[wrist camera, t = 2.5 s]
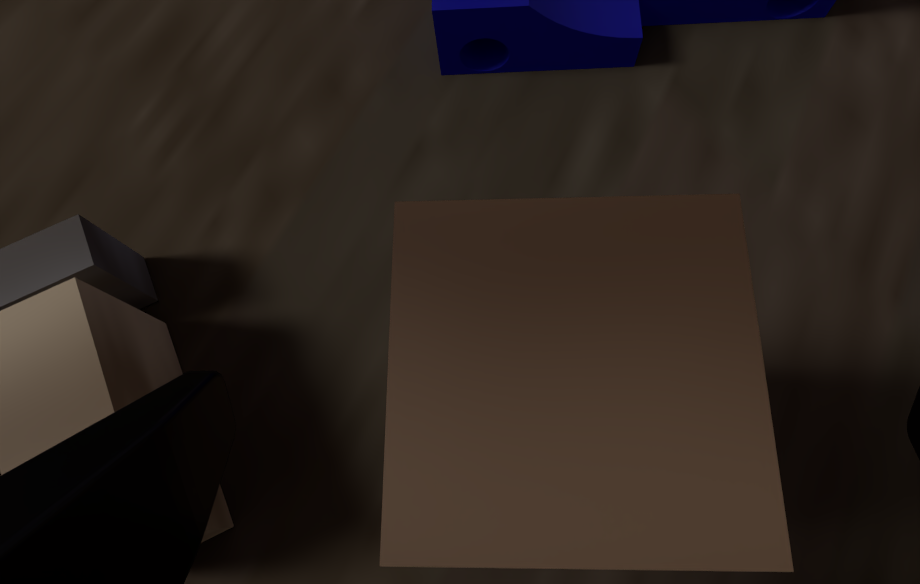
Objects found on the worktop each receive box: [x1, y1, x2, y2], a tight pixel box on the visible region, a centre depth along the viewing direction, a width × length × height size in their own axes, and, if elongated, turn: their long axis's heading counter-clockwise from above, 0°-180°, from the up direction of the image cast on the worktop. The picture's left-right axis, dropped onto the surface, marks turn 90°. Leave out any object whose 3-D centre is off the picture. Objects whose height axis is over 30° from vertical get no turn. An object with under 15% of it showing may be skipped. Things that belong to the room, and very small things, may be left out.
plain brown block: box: [380, 194, 794, 572], centre depth 11 cm, size 4×4×10 cm
